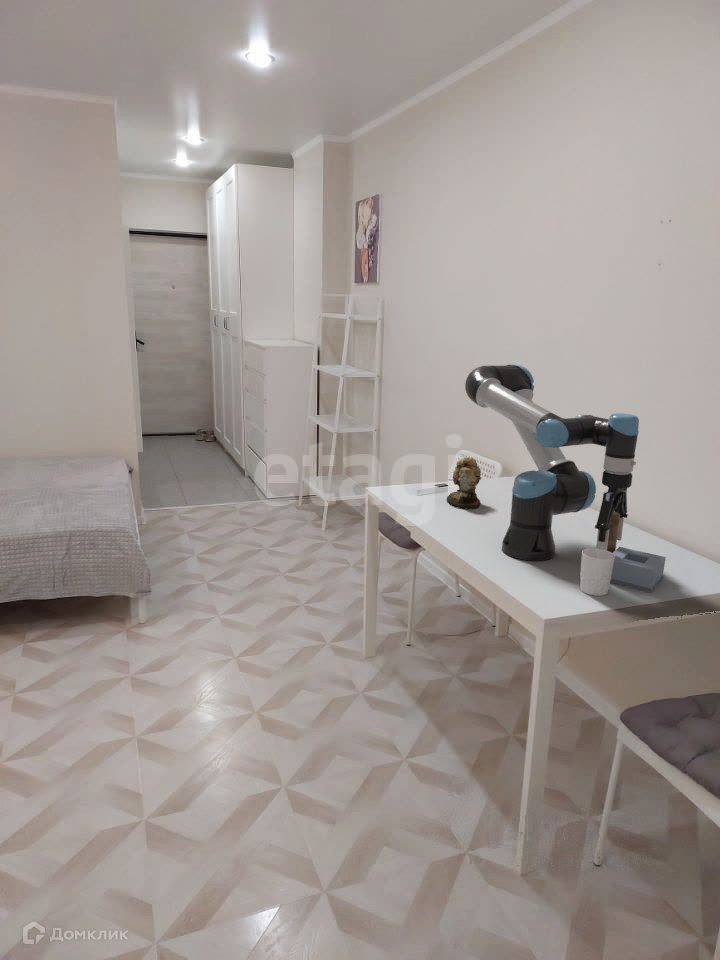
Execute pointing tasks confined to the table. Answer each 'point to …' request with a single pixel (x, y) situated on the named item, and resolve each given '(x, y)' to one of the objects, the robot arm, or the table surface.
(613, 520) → the walnut dowel
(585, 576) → the white cup
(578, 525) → the table surface
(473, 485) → the brown stone bust
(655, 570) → the socket block
